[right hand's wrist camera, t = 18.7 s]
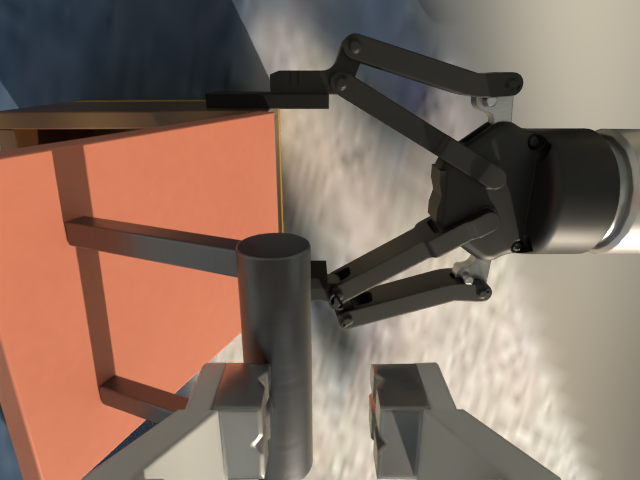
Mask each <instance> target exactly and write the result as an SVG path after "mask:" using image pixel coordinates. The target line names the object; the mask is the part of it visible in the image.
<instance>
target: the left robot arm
mask: <svg viewBox="0 0 640 480" xmlns="http://www.w3.org/2000/svg"><path fill="white" fill-rule="evenodd" d="M360 63H361V64H364V65H367V66H370V67H373V68H376V69H379V70H383V71H386V72H389V73H392V74H395V75H398V76H401V77H404V78H408V79H411V80H414V81H417V82H420V83H423V84H426V85H429V86H432V87H436V88H439V89H442V90H445V91H448V92H451V93H455V94H459V95H466V96H471V104H472V106H473V107H474V108H475V109H477V110H481V111H483V112H485V113H486V114H487V116H488V122H486V123H485V124H483V125H482V126H480V127H479V128H477V129H476V130H474V131H473V132H472V133H470V134H469V135H467V136H466V137H464V138H463V139H461V140H460V141H456V140H455V139H453V138H451V137H450V136H448V135H446V134H445V133H443V132H441V131H440V130H438V129H436V128H435V127H433V126H432V125H430V124H428V123H427V122H425V121H424V120H422V119H420V118H419V117H417V116H416V115H414V114H413V113H411V112H409V111H408V110H406V109H405V108H403V107H401V106H400V105H398V104H397V103H395V102H393V101H392V100H390V99H389V98H387V97H385V96H384V95H382V94H381V93H379V92H377V91H376V90H374V89H373V88H371V87H370V86H368V85H366V84H365V83H363V82H362V81H360V80H358V79H357V78H355V75H356V73H357V70H358V67H359V64H360ZM522 86H523V79H522V77H521V75H519V74H518V73H514V72H491V73H476V72H473V71H470V70H467V69H464V68H461V67H457V66H454V65H451V64H448V63H445V62H442V61H439V60H436V59H433V58H430V57H427V56H424V55H421V54H418V53H415V52H412V51H409V50H406V49H403V48H400V47H397V46H394V45H391V44H388V43H385V42H381V41H378V40H375V39H372V38H369V37H366V36H363V35H360V34H351V35H349V36H348V37H346V38H345V39H344V40H343V41H342V43H341V47H340V50H339V52H338V55H337V58H336V61H335V63H334V65H333V66H332V67H331V68H329V69H328V70H324V71H277V72H275V73H273V74H270V90H271V92H212V93H207V94H206V107H207V108H269V109H329V94H338V95H339V96H341V97H342V98H344V99H346V100H347V101H349V102H351V103H352V104H354V105H355V106H357V107H359V108H360V109H362V110H364V111H365V112H367V113H368V114H370V115H372V116H373V117H375V118H377V119H378V120H380V121H382V122H383V123H385V124H386V125H388V126H390V127H391V128H393V129H395V130H396V131H398V132H399V133H401V134H403V135H404V136H406V137H408V138H409V139H411V140H412V141H414V142H416V143H417V144H419V145H421V146H422V147H424V148H425V149H427V150H429V151H430V152H432V153H434V154H435V155H437V156H438V159H437V161H436V163H435V164H432V171H431V179H432V184H433V191H432V194H431V196H430V199H429V206H428V213H429V214H430V215H431V216H430V217H428V218H426V219H424V220H422V221H420V222H419V223H417V224H416V225H415V227H414V228H413V229H411V230H410V231H408V232H406V233H404V234H402V235H400V236H398V237H397V238H395V239H393V240H391V241H389V242H387V243H385V244H383V245H382V246H380V247H378V248H376V249H374V250H372V251H370V252H369V253H367V254H365V255H363V256H361V257H359V258H357V259H355V260H354V261H352V262H350V263H348V264H346V265H344V266H342V267H340V268H339V269H337V270H335V271H333V272H331V273H330V274H327V267H326V261H311V301H327V302H329V304H330V306H331V307H332V308H333V309H334V310H335V312H336V315H337V317H338V321H339V324H340V326H341V327H343V328H346V329H349V328H354V327H357V326H361V325H365V324H369V323H372V322H376V321H380V320H384V319H388V318H391V317H395V316H399V315H403V314H406V313H410V312H414V311H418V310H422V309H425V308H429V307H433V306H437V305H440V304H444V303H448V302H452V301H472V302H484V301H486V300H488V299H489V298H490V297H491V295H492V290H491V288H490V287H489V285H488V284H487V277H488V273H489V268H490V263H491V260H494V259H496V258H498V257H500V256H502V255H505V254H509V253H522V254H579V253H584V252H591V253H594V254H614V253H640V129H599V130H596V131H594V130H591V129H584V128H583V129H525V128H520V127H518V126H517V125H515V124H514V123H512V122H511V120H512V108H513V96H514V95H516V94H517V93H519V92H520V90H521V89H522ZM460 246H461V247H462V248H463V249H465V250H466V251H467V252H469V253H470V254H471V256H470V257H469V258H468V259H467V260H466V261H463V262H456V263H455V264H454V265H453V268H446V269H439V270H434V271H430V272H427V273H423V274H419V275H415V276H412V277H408V278H404V279H401V280H397V281H393V282H390V283H386V284H382V285H379V286H376V285H378V284H380V283H382V282H384V281H386V280H388V279H390V278H392V277H394V276H396V275H398V274H399V273H401V272H403V271H405V270H407V269H409V268H411V267H413V266H415V265H417V264H419V263H421V262H423V261H424V260H426V259H428V258H431V257H435V258H436V257H440V256H442V255H444V254H446V253H448V252H450V251H452V250H454V249H456V248H458V247H460ZM374 286H375V287H374Z"/></svg>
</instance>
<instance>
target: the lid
mask: <svg viewBox="0 0 640 480" xmlns="http://www.w3.org/2000/svg"><path fill="white" fill-rule="evenodd" d="M241 332H242V345H243V358H244V363H257V364H270V367H271V386H270V394H271V395H272V428H271V437H270V439H269V440H268V459H267V466H266V472H265V479H259V480H302V479H303V478H304V477H305V476H306V475H307V474H308V472H309V471H310V469H311V467H312V462H313V438H312V348H311V257H310V244H309V242H308V240H306V239H305V238H303V237H301V236H298V235H294V234H288V233H279V230H278V203H277V176H276V148H275V121H274V112H263V111H258V112H252V113H245V114H239V115H232V116H225V117H219V118H212V119H206V120H199V121H193V122H186V123H180V124H173V125H167V126H160V127H154V128H147V129H141V130H134V131H127V132H121V133H114V134H108V135H101V136H95V137H88V138H82V139H75V140H69V141H62V142H56V143H49V144H43V145H36V146H29V147H23V148H16V149H10V150H3V151H0V404H1V407H2V410H3V413H4V417H5V420H6V423H7V427H8V430H9V433H10V436H11V440H12V443H13V446H14V450H15V453H16V456H17V459H18V463H19V466H20V469H21V473H22V476H23V479H24V480H81V479H82V478H83V477H84V476H85V475H86V474H87V473H88V472H89V471H91V470H92V469H93V468H94V467H95V466H96V465H97V464H98V463H99V462H100V461H101V460H103V459H104V458H105V457H106V456H107V455H108V454H109V453H110V452H111V451H112V450H113V449H115V448H116V447H117V446H118V445H119V444H120V443H121V442H122V441H123V440H124V439H125V438H127V437H128V436H129V435H130V434H131V433H132V432H133V431H134V430H135V429H136V428H137V427H139V426H140V425H141V424H142V423H143V422H144V421H145V420H148V421H151V422H154V423H157V424H159V423H160V422H162V421H163V420H164V419H166V418H167V417H169V416H170V415H171V414H173V413H174V412H176V411H177V410H185V408H186V405H187V403H188V401H189V398H186V397H183V396H179V395H176V394H174V393H176V392H177V391H178V390H179V389H180V388H181V387H182V386H183V385H184V384H185V383H186V382H188V381H189V380H190V379H191V378H192V377H193V376H194V375H195V374H196V373H197V372H198V371H200V370H201V369H202V366H203V365H204V364H205V363H208V362H209V361H210V360H211V359H213V358H214V357H215V356H216V355H217V354H218V353H219V352H220V351H221V350H222V349H223V348H225V347H226V346H227V345H228V344H229V343H230V342H231V341H232V340H233V339H234V338H235V337H237V336H238V335H239V334H240V333H241Z"/></svg>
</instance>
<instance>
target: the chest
mask: <svg viewBox="0 0 640 480" xmlns="http://www.w3.org/2000/svg"><path fill="white" fill-rule="evenodd" d="M258 111H263V112H274V121H275V148H276V176H277V203H278V230H279V233H283V204H282V173H281V143H280V112H279V109H269V108H207V107H206V100H79V101H72V102H66V103H59V104H51V105H43V106H35V107H28V108H20V109H12V110H5V111H0V147H1V151H3V150H10V149H16V148H23V147H29V146H36V145H43V144H49V143H56V142H62V141H69V140H75V139H82V138H88V137H95V136H101V135H108V134H114V133H121V132H127V131H134V130H141V129H147V128H154V127H160V126H167V125H173V124H180V123H186V122H193V121H199V120H206V119H212V118H219V117H225V116H232V115H239V114H245V113H252V112H258Z"/></svg>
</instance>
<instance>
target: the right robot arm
mask: <svg viewBox="0 0 640 480" xmlns="http://www.w3.org/2000/svg"><path fill="white" fill-rule="evenodd" d="M370 383H371V389H372V393H371V394H370V395H369V424H370V433H371V438H372V439H373V440H374V450H373V455H374V461H375V468H376V475H377V479H404V480H561V479H560V477H558V476H557V475H555V474H554V473H553V472H551V471H550V470H548V469H547V468H545V467H544V466H543V465H541V464H540V463H538V462H537V461H536V460H534V459H533V458H531V457H530V456H528V455H527V454H526V453H524V452H523V451H521V450H520V449H519V448H517V447H516V446H514V445H513V444H511V443H510V442H509V441H507V440H506V439H504V438H503V437H502V436H500V435H499V434H497V433H496V432H494V431H493V430H492V429H490V428H489V427H487V426H486V425H485V424H483V423H482V422H480V421H479V420H477V419H476V418H475V417H473V416H472V415H470V414H469V413H467V412H466V411H465V410H457V409H456V406H455V404H454V401H453V399H452V397H451V394H450V392H449V389H448V387H447V385H446V382H445V380H444V377H443V375H442V373H441V370H440V368H439V365H438V364H437V363H414V364H371V370H370ZM270 386H271V367H270V364H257V363H205V364H204V365H203V366H202V369H201V371H200V373H199V376H198V378H197V381H196V383H195V386H194V388H193V391H192V393H191V396H190V398H189V401H188V403H187V405H186V408H185V410H177V411H176V412H174V413H173V414H171V415H170V416H169V417H167V418H166V419H164V420H163V421H162V422H160V423H159V424H157V425H156V426H154V427H153V428H152V429H150V430H149V431H147V432H146V433H145V434H143V435H142V436H140V437H139V438H137V439H136V440H135V441H133V442H132V443H130V444H129V445H128V446H126V447H125V448H123V449H122V450H120V451H119V452H118V453H116V454H115V455H113V456H112V457H111V458H109V459H108V460H106V461H105V462H103V463H102V464H101V465H99V466H98V467H96V468H95V469H93V470H92V471H91V472H89V473H88V474H86V475H85V476H84V477H83V478H82V479H81V480H237V479H265V472H266V466H267V459H268V440H269V439H270V437H271V428H272V395H271V394H270Z"/></svg>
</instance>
